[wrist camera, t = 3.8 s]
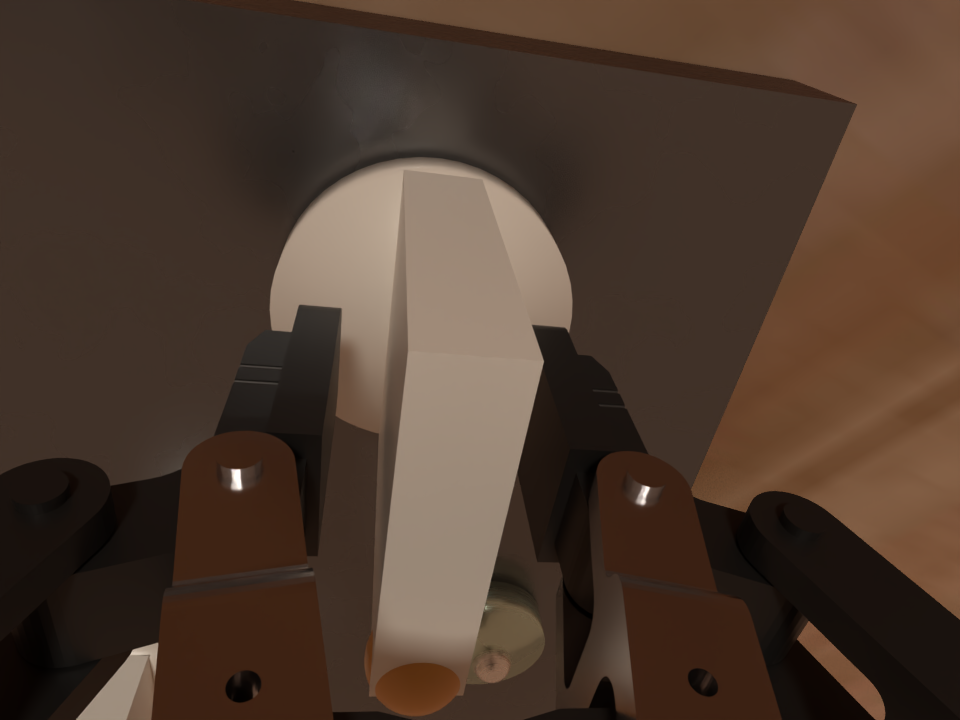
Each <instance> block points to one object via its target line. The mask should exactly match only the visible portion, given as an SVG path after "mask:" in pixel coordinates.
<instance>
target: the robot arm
mask: <svg viewBox="0 0 960 720" xmlns="http://www.w3.org/2000/svg"><path fill="white" fill-rule="evenodd" d="M341 321H342V308H335V307H323V306H311V305H299V307H298V310H297V314H296V318H295V321H294V325H293V329H292V332H285V331H273V330H265V331H264V332H262V333H261V334H260V335H259V336H257V337H256V338H255V339H254V340H252V341H251V342H250V343H249V344H247V346H246V349H245V352H244V354H243V357H242V360H241V363H240V367H239V368H238V371H237V374H236V376H235V382H234V383H233V385H232V387H231V390H230V393H229V396H228V398H227V401H226V404H225V407H224V409H223V412H222V415H221V418H220V420H219V423H218V426H217V429H216V431H215V434H214V437H211V438H209V439H207V440H205V441H203V442H201V443H200V444H198V445H197V446H196V447H195V448H193V449H192V450H191V451H190V452H189V454H188V455H187V456H186V458H185V460H184V462H183V466H182V469H180V470H177V471H175V472H173V473H170V474H167V475H163V476H160V477H155V478H151V479H145V480H140V481H134V482H128V483H123V484H117V485H111V486H110V480H109V478H108V476H107V474H106V473H105V472H104V471H103V470H102V469H101V468H100V467H98V466H97V465H95V464H93V463H90V462H88V461H84V460H80V459H73V458H51V459H44V460H38V461H34V462H30V463H26V464H23V465H20V466H18V467H15V468H13V469H11V470H8V471H6V472H4V473H2V474H1V475H0V720H76V719H77V718H78V717H79V715H80V714H81V713H82V712H83V711H84V710H85V708H86V707H87V706H88V705H89V704H90V702H91V701H92V700H93V699H94V698H95V697H96V695H97V694H98V693H99V692H100V691H101V690H102V688H103V687H104V686H105V685H106V684H107V682H108V681H109V680H110V679H111V678H112V677H113V675H114V674H115V673H116V672H117V671H118V670H119V668H120V667H121V666H122V665H123V664H124V662H125V661H126V660H127V658H128V657H129V656H130V654H131V652H132V650H133V649H137V648H141V647H144V646H148V645H152V644H155V643H158V652H157V663H156V674H155V684H154V695H153V706H152V717H151V720H412V719H407V718H403V717H399V716H395V715H391V714H387V713H383V712H379V711H369V712H332V704H331V697H330V689H329V681H328V673H327V666H326V658H325V650H324V642H323V635H322V627H321V619H320V611H319V604H318V596H317V588H316V581H315V575H314V571H313V568H308V561H307V556H318V550H319V542H320V534H321V526H322V519H323V511H324V503H325V495H326V487H327V480H328V472H329V464H330V456H331V448H332V440H333V433H334V425H335V417H336V408H337V396H338V381H339V361H340V341H341ZM532 327H533V330H534V333H535V336H536V339H537V342H538V345H539V348H540V351H541V354H542V357H543V360H544V363H543V367H542V371H541V375H540V380H539V384H538V388H537V392H536V396H535V400H534V404H533V409H532V413H531V417H530V421H529V425H528V429H527V433H526V437H525V442H524V446H523V450H522V454H521V458H520V462H519V466H518V471H517V473H518V477H519V482H520V486H521V491H522V495H523V500H524V505H525V509H526V514H527V518H528V523H529V527H530V532H531V536H532V541H533V545H534V550H535V554H536V559H537V562H553V563H559V564H560V568H561V572H562V578H561V581H560V584H559V587H558V590H557V593H556V709H555V710H554V711H550V712H547V713H544V714H540V715H537V716H534V717H531V718H527V719H524V720H875V719H874V718H873V717H872V716H871V715H870V714H869V713H868V712H867V711H866V710H865V709H864V708H863V707H862V706H861V705H860V704H859V703H858V702H857V701H856V700H855V699H854V698H853V697H852V696H851V695H850V694H849V693H848V692H847V690H846V689H845V688H844V687H843V686H842V685H841V684H840V683H839V682H838V681H837V680H836V679H835V678H834V677H833V676H832V675H831V674H830V673H829V672H828V671H827V670H826V669H825V668H824V667H823V666H822V665H821V664H820V663H819V662H818V661H817V660H816V659H815V658H814V657H813V656H812V655H811V654H810V653H809V652H808V651H807V649H806V648H805V647H804V646H803V645H802V644H801V643H800V642H799V641H798V640H797V638H798V636H799V635H800V633H801V632H802V630H803V629H804V627H805V626H806V624H807V622H808V621H810V622H811V623H812V624H813V625H814V626H815V627H816V628H817V629H818V630H819V631H820V632H821V633H822V634H823V635H824V636H825V637H826V638H827V639H828V640H829V641H830V642H831V643H832V644H833V645H834V646H835V647H836V648H837V649H838V650H839V651H840V652H841V653H842V654H843V655H844V656H845V657H846V658H847V659H848V660H849V661H850V662H851V663H852V664H853V665H854V666H856V667H857V668H858V669H859V670H860V671H861V672H862V673H863V674H864V675H865V676H866V677H867V678H868V679H869V680H870V681H871V683H872V684H873V685H874V686H875V687H876V689H877V690H878V692H879V694H880V695H881V698H882V700H883V702H884V706H885V712H886V713H885V720H960V620H959V619H958V618H957V617H956V616H954V615H953V614H952V613H951V612H950V611H948V610H947V609H946V608H945V607H943V606H942V605H941V604H940V603H939V602H937V601H936V600H935V599H934V598H932V597H931V596H930V595H929V594H928V593H926V592H925V591H924V590H923V589H922V588H920V587H919V586H918V585H917V584H915V583H914V582H913V581H912V580H911V579H909V578H908V577H907V576H906V575H905V574H903V573H902V572H901V571H900V570H898V569H897V568H896V567H895V566H894V565H892V564H891V563H890V562H889V561H887V560H886V559H885V558H884V557H883V556H881V555H880V554H879V553H878V552H877V551H875V550H874V549H873V548H872V547H870V546H869V545H868V544H867V543H866V542H864V541H863V540H862V539H861V538H859V537H858V536H857V535H856V534H855V533H853V532H852V531H851V530H850V529H849V528H847V527H846V526H845V525H844V524H842V523H841V522H840V521H839V520H838V519H836V518H835V517H834V516H833V515H832V514H830V513H829V512H828V511H826V510H825V509H824V508H822V507H820V506H819V505H817V504H815V503H814V502H812V501H810V500H808V499H805V498H803V497H800V496H797V495H794V494H791V493H786V492H779V491H770V492H764V493H761V494H759V495H757V496H756V497H755V498H753V500H752V502H751V503H750V505H749V507H748V509H747V511H746V513H745V512H741V511H738V510H734V509H731V508H727V507H724V506H720V505H716V504H713V503H709V502H706V501H703V500H700V499H697V498H695V497H693V495H692V491H691V489H690V486H689V484H688V482H687V481H686V479H685V478H684V477H683V476H682V474H681V473H679V472H678V471H677V470H676V469H675V468H674V467H672V466H671V465H670V464H668V463H666V462H664V461H663V460H661V459H659V458H656V457H654V456H651V455H649V454H648V452H647V450H646V448H645V446H644V444H643V441H642V439H641V437H640V435H639V433H638V431H637V429H636V427H635V425H634V423H633V421H632V418H631V416H630V414H629V412H628V410H627V409H625V404H624V402H623V400H622V398H621V395H620V394H618V389H617V387H616V385H615V383H614V381H613V379H612V377H611V375H610V372H609V371H608V370H606V369H605V368H604V367H603V366H602V365H601V364H600V363H599V362H598V361H596V360H595V359H594V358H593V357H592V356H588V355H578V354H577V352H576V349H575V347H574V345H573V342H572V340H571V337H570V335H569V333H568V331H567V329H566V328H565V327H554V326H543V325H532Z"/></svg>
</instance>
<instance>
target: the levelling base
mask: <svg viewBox="0 0 960 720" xmlns="http://www.w3.org/2000/svg"><path fill="white" fill-rule="evenodd" d="M856 105H857V104H855V103H852V102H849V101H847V100H844V99H841V98H839V97H836V96H834V95H831V94H828V93H826V92H823V91H820V90H818V89H815V88H813V87H810V86H807V85H805V84H802V83H799V82H797V81H794V80H789V79H782V78H776V77H770V76H764V75H757V74H751V73H745V72H738V71H732V70H726V69H720V68H713V67H707V66H701V65H695V64H688V63H682V62H676V61H670V60H663V59H657V58H651V57H644V56H638V55H632V54H626V53H619V52H613V51H607V50H601V49H594V48H588V47H582V46H576V45H569V44H563V43H557V42H550V41H544V40H538V39H532V38H525V37H519V36H513V35H507V34H500V33H494V32H488V31H482V30H475V29H469V28H463V27H456V26H450V25H444V24H438V23H431V22H425V21H419V20H413V19H406V18H400V17H394V16H387V15H381V14H375V13H369V12H362V11H356V10H350V9H344V8H337V7H331V6H325V5H319V4H312V3H306V2H300V1H293V0H0V475H1V474H2V473H4V472H6V471H8V470H11V469H13V468H15V467H18V466H20V465H23V464H26V463H30V462H34V461H38V460H44V459H51V458H73V459H80V460H84V461H88V462H90V463H93V464H95V465H97V466H98V467H100V468H101V469H102V470H103V471H104V472H105V473H106V474H107V476H108V478H109V480H110V486H111V485H117V484H123V483H128V482H134V481H140V480H145V479H151V478H155V477H160V476H163V475H167V474H170V473H173V472H175V471H177V470H180V469H182V466H183V462H184V460H185V458H186V456H187V455H188V454H189V452H190V451H191V450H192V449H193V448H195V447H196V446H197V445H198V444H200V443H201V442H203V441H205V440H207V439H209V438H211V437H214V434H215V431H216V429H217V426H218V423H219V420H220V418H221V415H222V412H223V409H224V407H225V404H226V401H227V398H228V396H229V393H230V390H231V387H232V385H233V383H234V382H235V376H236V374H237V371H238V368H239V367H240V363H241V360H242V357H243V354H244V352H245V349H246V346H247V344H249V343H250V342H251V341H252V340H254V339H255V338H256V337H257V336H259V335H260V334H261V333H262V332H264V331H265V330H272V328H271V319H270V295H271V288H272V283H273V279H274V274H275V271H276V268H277V265H278V262H279V260H280V257H281V254H282V251H283V249H284V246H285V244H286V241H287V239H288V236H289V234H290V232H291V230H292V229H293V227H294V225H295V223H296V222H297V220H298V218H299V217H300V216H301V214H302V213H303V212H304V211H305V209H306V208H307V207H308V206H309V204H310V203H311V202H312V201H313V200H315V199H316V198H317V197H318V196H319V195H320V194H321V193H322V192H323V191H324V190H325V189H327V188H328V187H330V186H331V185H333V184H334V183H335V182H337V181H338V180H340V179H341V178H343V177H345V176H347V175H349V174H351V173H353V172H355V171H357V170H359V169H362V168H365V167H367V166H370V165H373V164H376V163H379V162H384V161H389V160H394V159H399V158H412V157H429V158H442V159H447V160H452V161H458V162H462V163H465V164H468V165H471V166H474V167H477V168H480V169H482V170H484V171H486V172H488V173H490V174H492V175H494V176H496V177H498V178H500V179H501V180H502V181H504V182H505V183H507V184H508V185H510V186H511V187H513V188H514V189H515V190H516V191H518V192H519V193H520V194H521V195H522V196H523V197H524V198H525V199H526V200H528V202H529V203H530V204H531V205H532V206H533V207H534V209H535V210H536V211H537V212H538V213H539V215H540V216H541V218H542V219H543V221H544V223H545V224H546V226H547V227H548V229H549V231H550V233H551V235H552V237H553V239H554V241H555V243H556V245H557V247H558V249H559V251H560V253H561V256H562V258H563V260H564V263H565V265H566V268H567V272H568V275H569V279H570V283H571V292H572V319H571V325H570V330H569V335H570V337H571V340H572V342H573V345H574V347H575V349H576V352H577V354H578V355H588V356H592V357H593V358H594V359H595V360H596V361H598V362H599V363H600V364H601V365H602V366H603V367H604V368H605V369H606V370H608V371H609V372H610V375H611V377H612V379H613V381H614V383H615V385H616V387H617V389H618V394H620V395H621V398H622V400H623V402H624V404H625V409H627V410H628V412H629V414H630V416H631V418H632V421H633V423H634V425H635V427H636V429H637V431H638V433H639V435H640V437H641V439H642V441H643V444H644V446H645V448H646V450H647V452H648V454H649V455H651V456H654V457H656V458H659V459H661V460H663V461H664V462H666V463H668V464H670V465H671V466H672V467H674V468H675V469H676V470H677V471H678V472H679V473H681V474H682V476H683V477H684V478H685V479H686V481H687V482H688V484H689V486H690V489H691V488H692V486H693V483H694V481H695V479H696V476H697V474H698V472H699V469H700V467H701V465H702V462H703V460H704V458H705V455H706V453H707V451H708V449H709V446H710V444H711V442H712V439H713V437H714V435H715V432H716V430H717V428H718V425H719V423H720V421H721V418H722V416H723V414H724V411H725V409H726V407H727V404H728V402H729V400H730V398H731V395H732V393H733V391H734V388H735V386H736V384H737V381H738V379H739V377H740V374H741V372H742V370H743V367H744V365H745V363H746V360H747V358H748V356H749V353H750V351H751V349H752V347H753V344H754V342H755V340H756V337H757V335H758V333H759V330H760V328H761V326H762V323H763V321H764V319H765V316H766V314H767V312H768V309H769V307H770V305H771V302H772V300H773V298H774V295H775V293H776V291H777V289H778V286H779V284H780V282H781V279H782V277H783V275H784V272H785V270H786V268H787V265H788V263H789V261H790V258H791V256H792V254H793V251H794V249H795V247H796V244H797V242H798V240H799V238H800V235H801V233H802V231H803V228H804V226H805V224H806V221H807V219H808V217H809V214H810V212H811V210H812V207H813V205H814V203H815V200H816V198H817V196H818V193H819V191H820V189H821V187H822V184H823V182H824V180H825V177H826V175H827V173H828V170H829V168H830V166H831V163H832V161H833V159H834V156H835V154H836V152H837V149H838V147H839V145H840V142H841V140H842V138H843V136H844V133H845V131H846V129H847V126H848V124H849V122H850V119H851V117H852V115H853V112H854V110H855V108H856ZM378 442H379V433H374V432H371V431H368V430H365V429H362V428H359V427H357V426H355V425H352V424H350V423H348V422H346V421H343V420H342V419H340V418H338V417H337V416H336V417H335V425H334V433H333V440H332V448H331V456H330V464H329V472H328V480H327V487H326V495H325V503H324V511H323V519H322V526H321V534H320V542H319V550H318V556H307V561H308V568H313V571H314V575H315V581H316V588H317V596H318V604H319V611H320V619H321V627H322V635H323V642H324V650H325V658H326V666H327V673H328V681H329V689H330V697H331V704H332V712H369V711H379V712H383V713H387V714H391V715H395V716H399V717H403V718H407V719H412V720H524V719H527V718H531V717H534V716H537V715H540V714H544V713H547V712H550V711H554V710H555V709H556V593H557V590H558V587H559V584H560V581H561V578H562V572H561V568H560V564H559V563H553V562H537V559H536V554H535V550H534V545H533V541H532V536H531V532H530V527H529V523H528V518H527V514H526V509H525V505H524V500H523V495H522V491H521V486H520V482H519V477H518V473H517V475H516V479H515V483H514V487H513V491H512V495H511V499H510V504H509V508H508V512H507V516H506V520H505V524H504V528H503V533H502V537H501V541H500V545H499V549H498V553H497V557H496V562H495V566H494V570H493V574H492V578H491V582H490V586H489V590H488V595H487V599H486V603H485V607H484V611H483V615H482V619H481V624H480V628H479V632H478V636H477V640H476V644H475V648H474V653H473V657H472V661H471V665H470V669H469V673H468V677H467V681H466V686H465V690H464V694H463V696H455V697H454V698H453V699H452V701H451V702H449V703H448V704H447V705H446V706H444V707H443V708H442V709H440V710H438V711H436V712H434V713H431V714H428V715H424V716H406V715H402V714H399V713H396V712H394V711H392V710H390V709H389V708H387V707H386V706H384V705H383V704H382V703H381V702H380V701H379V700H378V699H377V697H369V684H368V681H367V678H366V673H365V667H364V656H365V649H366V645H367V641H368V639H369V636H370V634H371V628H372V602H373V575H374V549H375V522H376V495H377V469H378Z"/></svg>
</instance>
